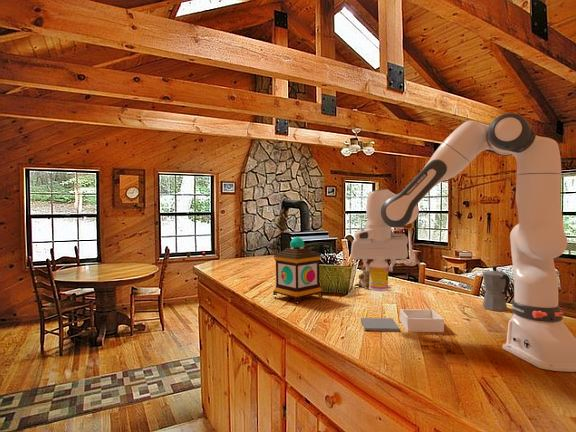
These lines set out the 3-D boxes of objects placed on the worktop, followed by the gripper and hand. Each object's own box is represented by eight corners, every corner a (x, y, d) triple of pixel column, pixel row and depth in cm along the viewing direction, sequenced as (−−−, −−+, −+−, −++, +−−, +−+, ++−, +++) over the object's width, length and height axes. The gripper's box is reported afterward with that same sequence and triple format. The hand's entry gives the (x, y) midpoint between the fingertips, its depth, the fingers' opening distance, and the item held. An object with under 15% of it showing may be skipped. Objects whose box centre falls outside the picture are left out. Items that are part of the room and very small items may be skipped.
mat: (399, 331, 129) (399, 328, 128) (365, 330, 129) (365, 328, 129) (392, 320, 140) (392, 318, 140) (360, 320, 141) (360, 318, 141)
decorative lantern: (269, 298, 179) (268, 236, 178) (298, 291, 192) (297, 234, 192) (297, 305, 164) (296, 239, 164) (326, 298, 177) (326, 236, 177)
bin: (443, 332, 127) (443, 319, 127) (408, 331, 128) (408, 318, 128) (432, 321, 139) (432, 309, 139) (400, 320, 140) (399, 309, 140)
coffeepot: (474, 304, 162) (474, 264, 162) (494, 304, 163) (494, 263, 163) (498, 314, 147) (498, 270, 146) (520, 313, 148) (520, 269, 147)
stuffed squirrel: (353, 287, 201) (353, 263, 201) (368, 283, 210) (368, 260, 210) (368, 290, 194) (368, 265, 193) (383, 286, 203) (383, 262, 203)
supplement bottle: (388, 292, 131) (389, 256, 130) (369, 291, 132) (370, 256, 132) (387, 288, 137) (388, 254, 137) (369, 287, 139) (369, 253, 138)
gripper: (405, 232, 137) (405, 269, 137) (350, 233, 138) (350, 269, 138) (409, 234, 130) (410, 272, 131) (352, 234, 132) (352, 272, 132)
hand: (379, 271), depth 135 cm, fingers closed on supplement bottle, 7 cm apart
